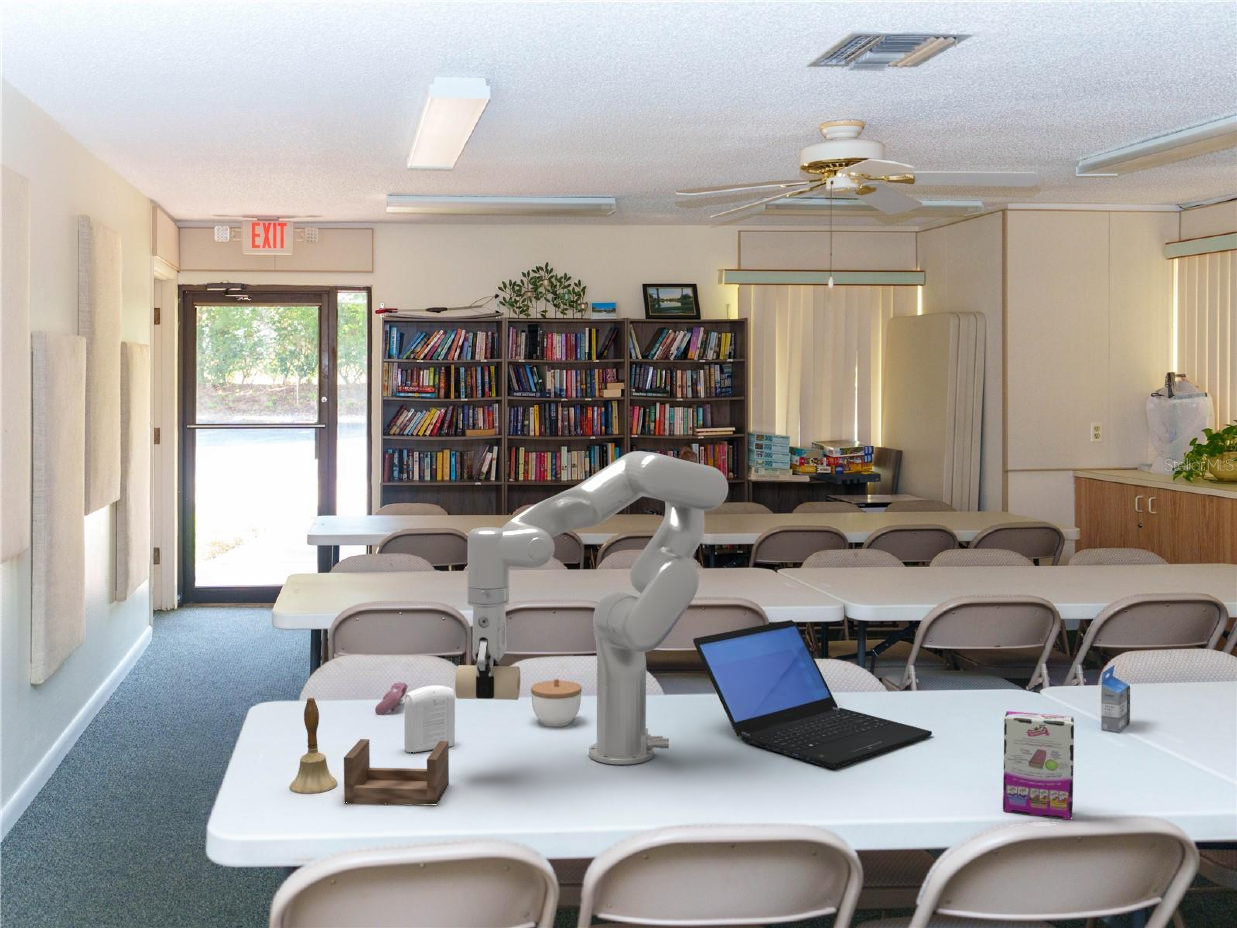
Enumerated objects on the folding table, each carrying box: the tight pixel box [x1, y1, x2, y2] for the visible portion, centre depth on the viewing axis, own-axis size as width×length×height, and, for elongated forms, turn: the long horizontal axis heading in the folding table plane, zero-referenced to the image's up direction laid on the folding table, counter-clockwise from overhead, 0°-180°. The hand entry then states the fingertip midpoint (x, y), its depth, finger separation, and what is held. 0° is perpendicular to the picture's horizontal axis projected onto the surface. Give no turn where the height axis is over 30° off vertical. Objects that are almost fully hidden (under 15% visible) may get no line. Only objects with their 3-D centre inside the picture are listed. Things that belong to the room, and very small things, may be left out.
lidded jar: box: [530, 678, 583, 728], centre depth 250 cm, size 11×11×9 cm
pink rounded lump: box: [374, 681, 409, 715], centre depth 260 cm, size 10×5×7 cm, turn 0°
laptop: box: [692, 619, 933, 770], centre depth 243 cm, size 33×38×19 cm
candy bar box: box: [1002, 710, 1075, 820], centre depth 199 cm, size 11×5×16 cm, turn 69°
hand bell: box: [289, 697, 338, 795], centre depth 210 cm, size 8×8×16 cm
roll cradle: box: [343, 738, 450, 805], centre depth 206 cm, size 16×10×8 cm, turn 87°
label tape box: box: [1100, 665, 1131, 734], centre depth 248 cm, size 9×4×12 cm, turn 143°
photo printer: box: [404, 684, 456, 754], centre depth 232 cm, size 10×4×12 cm, turn 123°
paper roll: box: [454, 664, 521, 701], centre depth 215 cm, size 11×6×6 cm, turn 87°
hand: (488, 692), depth 215 cm, fingers closed on paper roll, 6 cm apart
